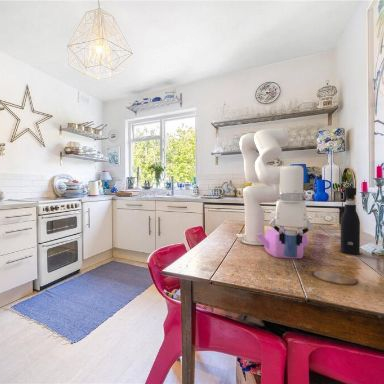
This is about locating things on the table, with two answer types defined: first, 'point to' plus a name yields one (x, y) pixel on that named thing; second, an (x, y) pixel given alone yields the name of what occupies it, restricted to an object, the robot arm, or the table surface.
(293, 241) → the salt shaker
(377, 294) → the table surface
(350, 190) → the black water bottle
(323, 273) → the coaster
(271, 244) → the teakettle
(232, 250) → the table surface
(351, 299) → the table surface
